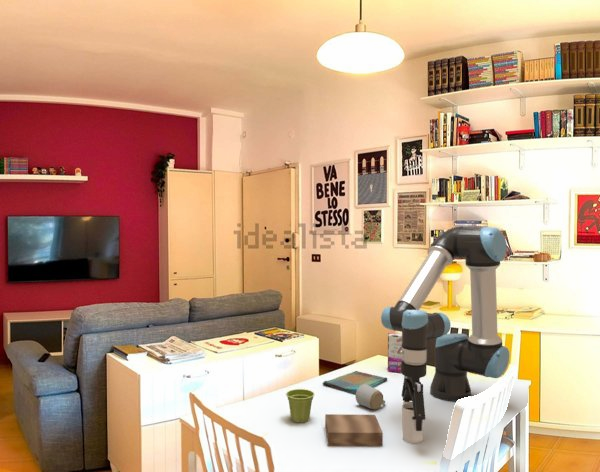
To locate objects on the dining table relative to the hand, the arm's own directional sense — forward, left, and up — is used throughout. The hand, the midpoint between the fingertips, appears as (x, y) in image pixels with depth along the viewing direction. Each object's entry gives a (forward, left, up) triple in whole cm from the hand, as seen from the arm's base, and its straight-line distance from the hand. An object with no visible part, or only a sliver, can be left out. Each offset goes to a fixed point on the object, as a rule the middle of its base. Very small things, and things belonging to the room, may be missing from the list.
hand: (412, 431), depth 157 cm
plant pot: (+34, -15, -3) cm, 37 cm away
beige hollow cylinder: (0, 0, -3) cm, 3 cm away
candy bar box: (-11, -70, -3) cm, 71 cm away
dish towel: (+11, -53, -3) cm, 54 cm away
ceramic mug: (+8, -28, -3) cm, 29 cm away
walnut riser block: (+18, -2, -3) cm, 18 cm away
